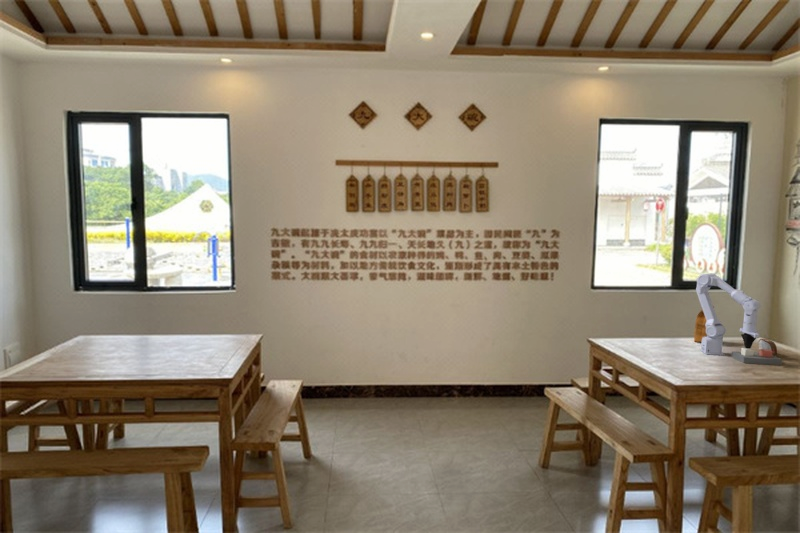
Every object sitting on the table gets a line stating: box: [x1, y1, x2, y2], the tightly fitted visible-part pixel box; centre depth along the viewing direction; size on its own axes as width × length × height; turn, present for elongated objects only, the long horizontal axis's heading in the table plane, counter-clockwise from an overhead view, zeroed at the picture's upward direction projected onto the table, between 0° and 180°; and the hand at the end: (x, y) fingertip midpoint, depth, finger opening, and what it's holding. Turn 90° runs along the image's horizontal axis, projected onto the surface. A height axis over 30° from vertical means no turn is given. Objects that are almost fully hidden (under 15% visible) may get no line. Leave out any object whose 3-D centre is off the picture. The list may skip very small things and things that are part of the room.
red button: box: [758, 349, 773, 357], centre depth 265 cm, size 4×4×4 cm
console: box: [731, 351, 783, 366], centre depth 266 cm, size 18×12×3 cm, turn 83°
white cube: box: [740, 347, 755, 356], centre depth 266 cm, size 4×4×4 cm
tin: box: [758, 338, 778, 357], centre depth 278 cm, size 15×3×8 cm, turn 168°
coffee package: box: [693, 305, 715, 343], centre depth 304 cm, size 10×12×22 cm
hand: (747, 348), depth 266 cm, fingers closed
